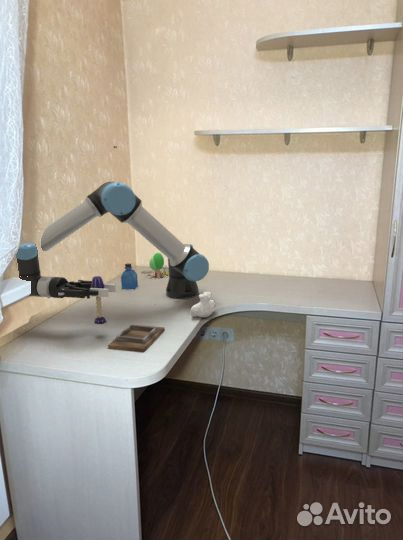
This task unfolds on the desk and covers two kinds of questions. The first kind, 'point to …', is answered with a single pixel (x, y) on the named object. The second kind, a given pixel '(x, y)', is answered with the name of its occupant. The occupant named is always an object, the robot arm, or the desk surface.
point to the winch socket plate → (136, 338)
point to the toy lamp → (98, 299)
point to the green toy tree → (158, 265)
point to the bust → (203, 306)
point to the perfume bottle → (129, 278)
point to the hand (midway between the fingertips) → (111, 290)
